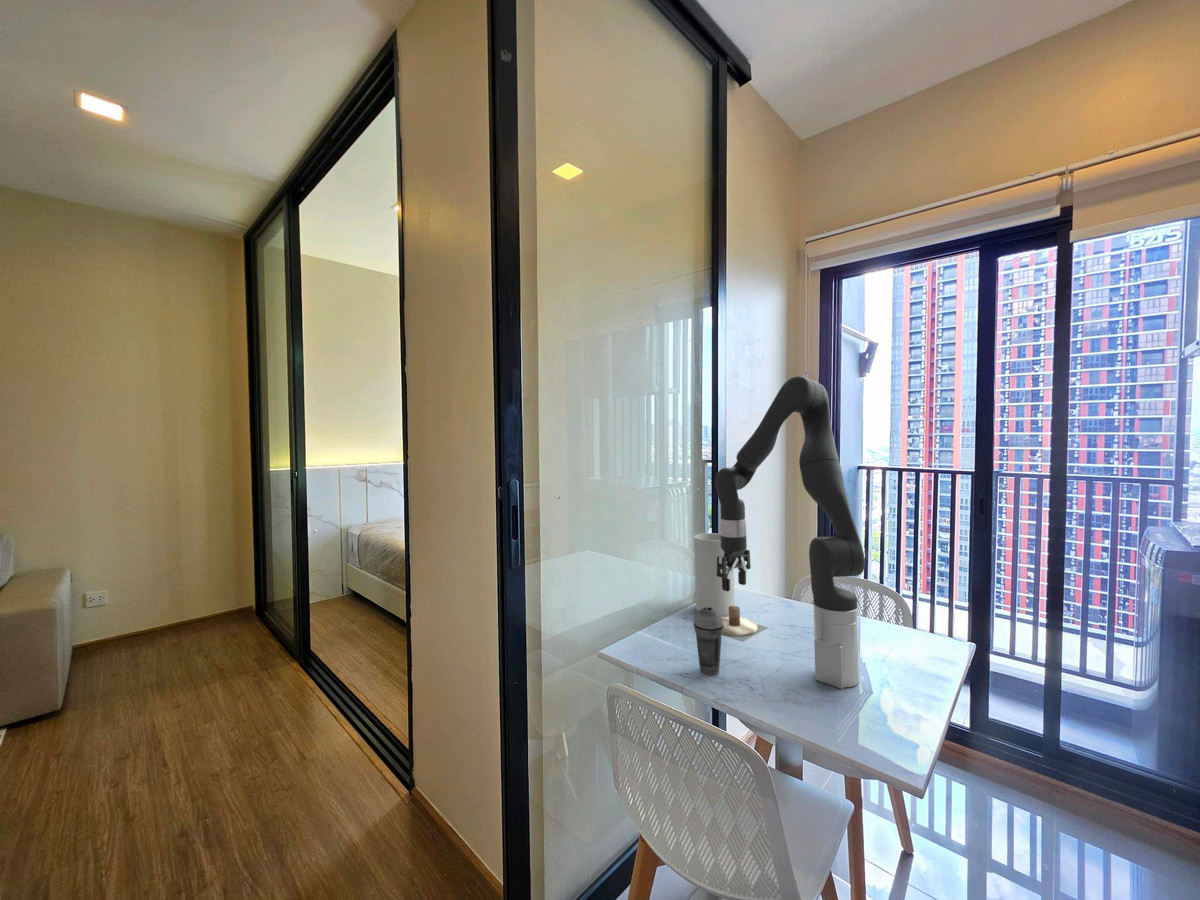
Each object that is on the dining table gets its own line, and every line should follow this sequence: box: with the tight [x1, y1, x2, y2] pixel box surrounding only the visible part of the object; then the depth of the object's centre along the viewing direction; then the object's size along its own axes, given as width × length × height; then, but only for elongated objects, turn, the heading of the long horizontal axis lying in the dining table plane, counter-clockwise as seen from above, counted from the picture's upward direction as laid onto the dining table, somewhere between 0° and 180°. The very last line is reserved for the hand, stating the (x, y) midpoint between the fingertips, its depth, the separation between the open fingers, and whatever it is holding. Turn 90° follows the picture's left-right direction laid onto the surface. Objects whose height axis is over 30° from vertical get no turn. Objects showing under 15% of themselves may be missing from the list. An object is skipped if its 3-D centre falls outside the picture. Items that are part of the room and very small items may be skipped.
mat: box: [722, 616, 769, 642], centre depth 142 cm, size 14×14×1 cm
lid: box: [721, 605, 757, 636], centre depth 142 cm, size 13×13×6 cm
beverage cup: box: [692, 589, 724, 677], centre depth 117 cm, size 7×7×20 cm
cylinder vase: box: [693, 532, 736, 617], centre depth 158 cm, size 12×12×25 cm
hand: (734, 587), depth 142 cm, fingers open, 8 cm apart
